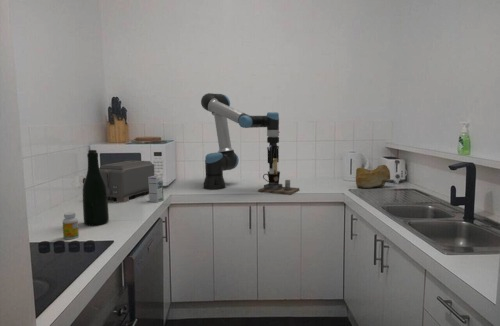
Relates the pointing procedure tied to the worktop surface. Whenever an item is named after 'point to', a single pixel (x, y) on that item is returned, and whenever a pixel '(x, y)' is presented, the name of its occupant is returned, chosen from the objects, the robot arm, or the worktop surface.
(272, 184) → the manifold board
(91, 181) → the dark green wine bottle
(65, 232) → the supplement bottle
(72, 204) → the worktop surface
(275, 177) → the coffee mug
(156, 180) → the syrup box
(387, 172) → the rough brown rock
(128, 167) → the toaster
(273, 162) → the gold tall rounded piece
